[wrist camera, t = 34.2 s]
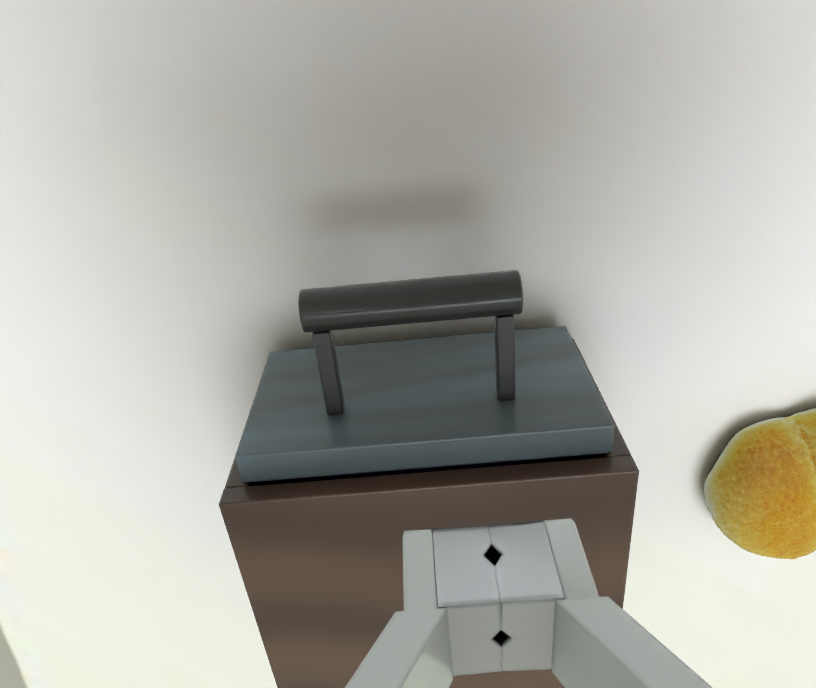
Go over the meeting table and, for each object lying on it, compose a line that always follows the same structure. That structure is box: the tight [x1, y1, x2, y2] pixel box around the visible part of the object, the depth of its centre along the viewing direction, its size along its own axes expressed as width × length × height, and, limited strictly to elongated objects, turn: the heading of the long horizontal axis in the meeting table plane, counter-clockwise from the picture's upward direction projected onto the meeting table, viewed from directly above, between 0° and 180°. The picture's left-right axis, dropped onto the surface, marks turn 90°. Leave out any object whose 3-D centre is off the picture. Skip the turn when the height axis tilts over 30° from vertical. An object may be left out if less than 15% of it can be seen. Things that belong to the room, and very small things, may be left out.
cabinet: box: [219, 339, 639, 688], centre depth 28 cm, size 14×14×9 cm
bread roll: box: [704, 408, 816, 559], centre depth 30 cm, size 8×9×4 cm
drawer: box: [235, 270, 614, 484], centre depth 26 cm, size 17×12×7 cm
